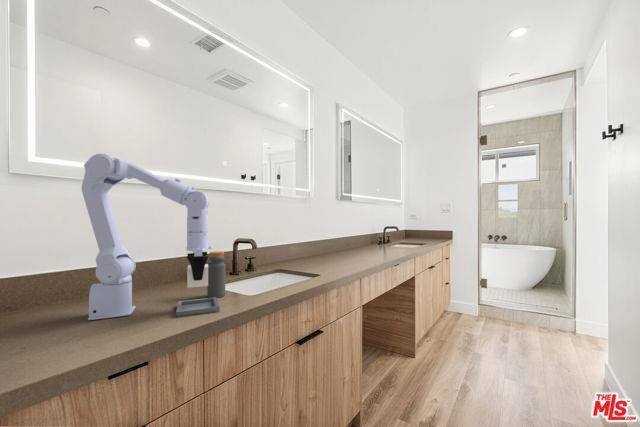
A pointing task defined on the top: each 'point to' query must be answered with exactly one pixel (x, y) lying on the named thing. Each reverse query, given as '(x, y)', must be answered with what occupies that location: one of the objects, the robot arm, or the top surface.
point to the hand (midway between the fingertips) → (197, 278)
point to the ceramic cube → (198, 282)
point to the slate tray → (197, 307)
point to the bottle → (216, 275)
